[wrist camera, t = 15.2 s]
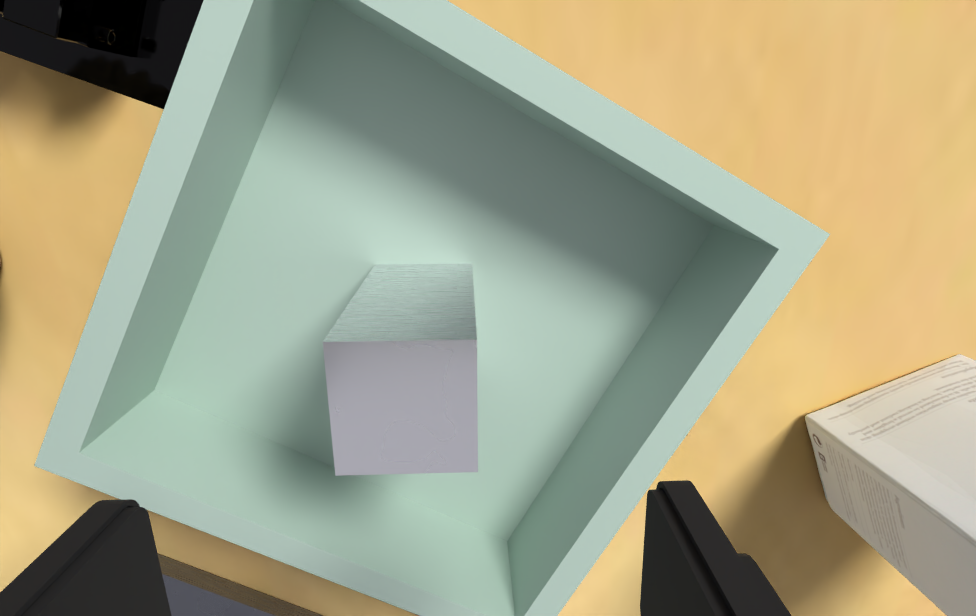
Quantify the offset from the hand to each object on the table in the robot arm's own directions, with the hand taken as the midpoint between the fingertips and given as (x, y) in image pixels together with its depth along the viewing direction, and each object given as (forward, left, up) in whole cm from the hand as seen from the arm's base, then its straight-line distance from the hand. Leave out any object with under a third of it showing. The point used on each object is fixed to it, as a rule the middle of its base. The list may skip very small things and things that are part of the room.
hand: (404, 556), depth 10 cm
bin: (+1, 0, -15) cm, 15 cm away
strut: (+1, 0, -14) cm, 14 cm away
